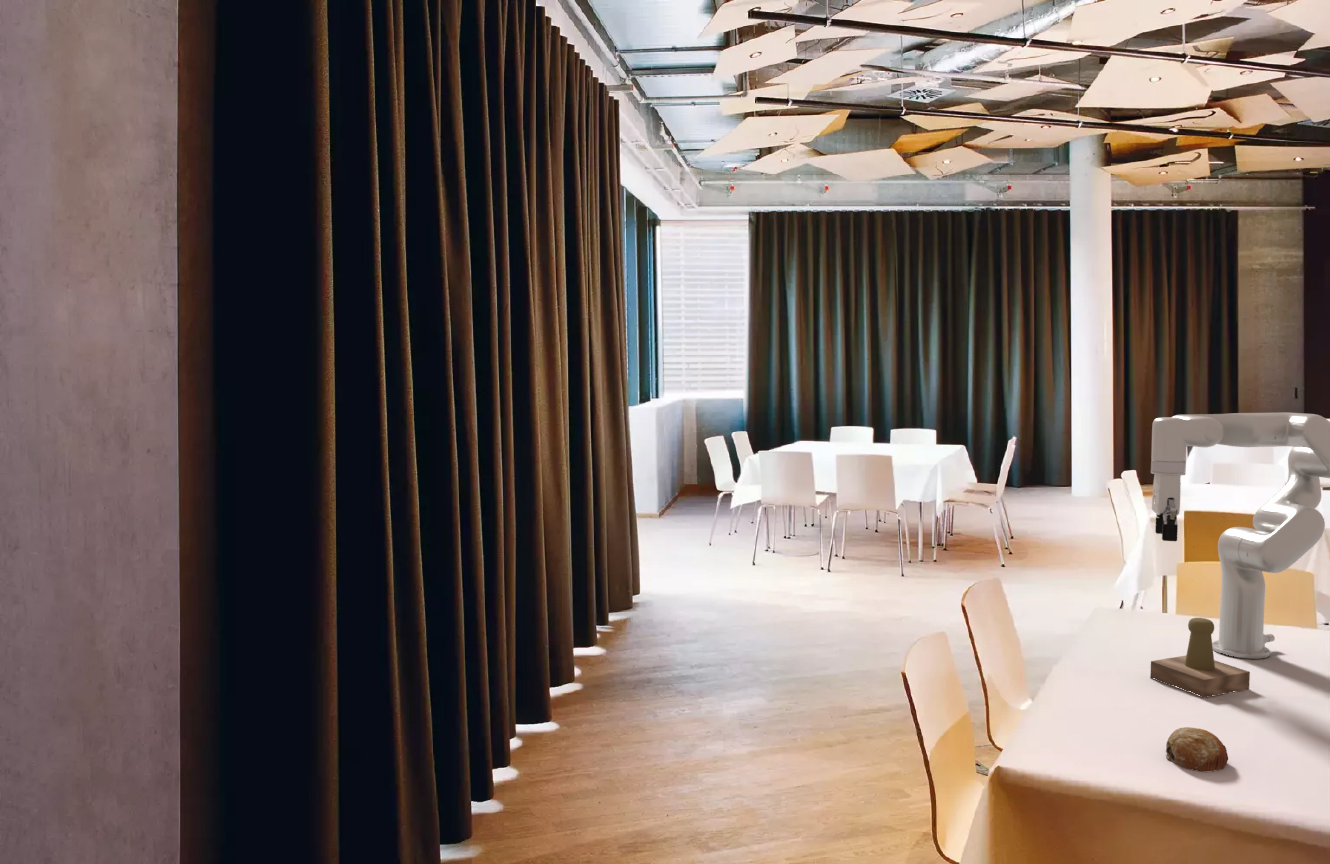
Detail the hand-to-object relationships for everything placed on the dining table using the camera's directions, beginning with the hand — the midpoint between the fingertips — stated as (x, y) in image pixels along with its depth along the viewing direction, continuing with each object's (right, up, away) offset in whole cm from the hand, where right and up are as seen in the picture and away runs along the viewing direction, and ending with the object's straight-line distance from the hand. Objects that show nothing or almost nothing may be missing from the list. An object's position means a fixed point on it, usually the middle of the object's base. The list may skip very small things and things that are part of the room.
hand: (1165, 537), depth 235 cm
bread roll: (-25, -36, -58) cm, 72 cm away
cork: (-1, -28, -17) cm, 32 cm away
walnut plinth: (-1, -32, -16) cm, 36 cm away
